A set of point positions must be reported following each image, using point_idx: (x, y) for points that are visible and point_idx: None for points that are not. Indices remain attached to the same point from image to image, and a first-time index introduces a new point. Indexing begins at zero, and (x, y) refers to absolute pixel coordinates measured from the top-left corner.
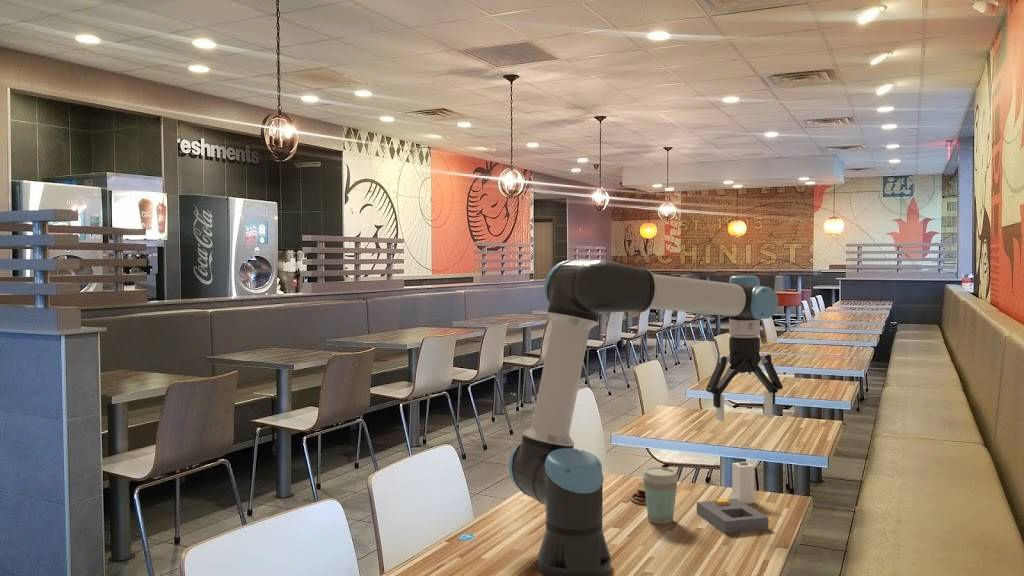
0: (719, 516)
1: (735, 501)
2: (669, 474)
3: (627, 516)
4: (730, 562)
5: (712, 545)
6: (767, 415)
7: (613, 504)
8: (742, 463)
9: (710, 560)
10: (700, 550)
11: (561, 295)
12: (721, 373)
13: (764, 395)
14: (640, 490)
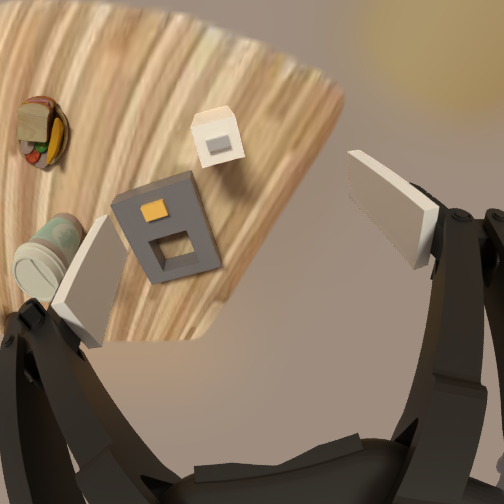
0: (144, 268)
1: (182, 194)
2: (51, 291)
3: (26, 218)
4: (155, 333)
5: (137, 301)
6: (351, 182)
7: (2, 169)
8: (214, 149)
9: (135, 330)
10: (124, 312)
11: None
12: (68, 472)
13: (407, 197)
14: (22, 140)
